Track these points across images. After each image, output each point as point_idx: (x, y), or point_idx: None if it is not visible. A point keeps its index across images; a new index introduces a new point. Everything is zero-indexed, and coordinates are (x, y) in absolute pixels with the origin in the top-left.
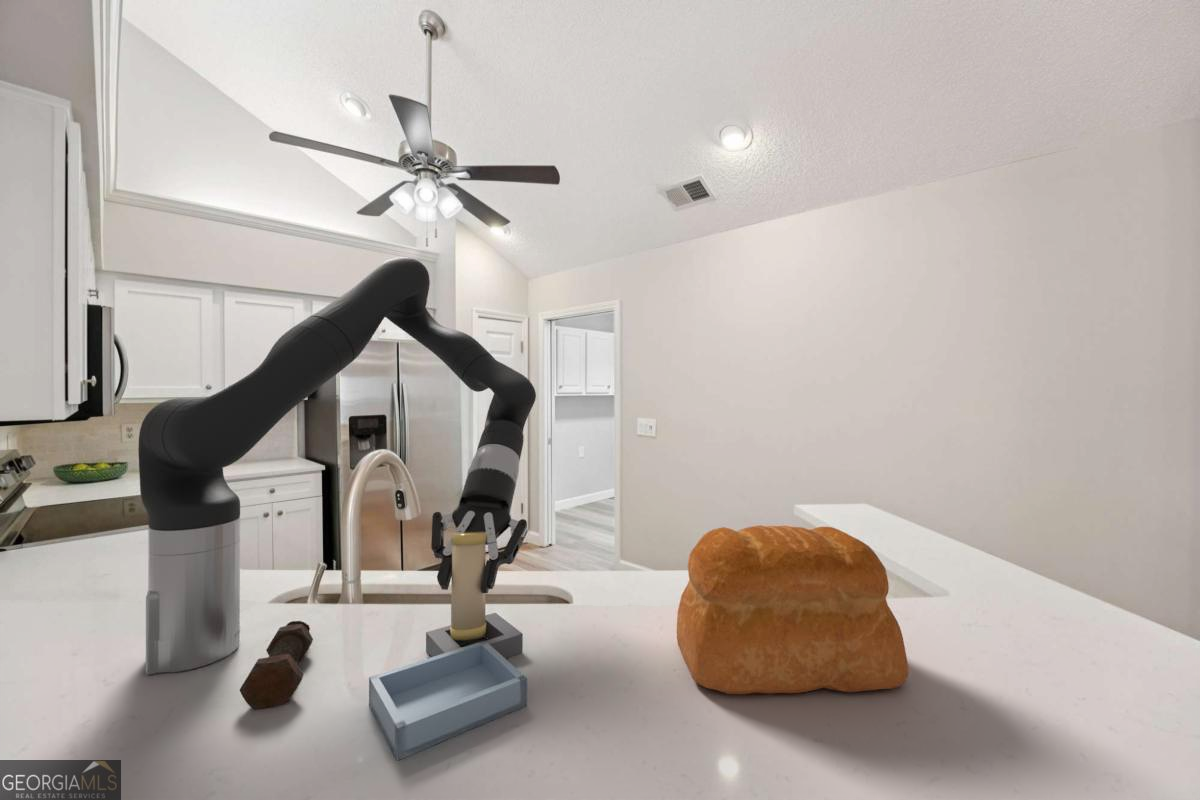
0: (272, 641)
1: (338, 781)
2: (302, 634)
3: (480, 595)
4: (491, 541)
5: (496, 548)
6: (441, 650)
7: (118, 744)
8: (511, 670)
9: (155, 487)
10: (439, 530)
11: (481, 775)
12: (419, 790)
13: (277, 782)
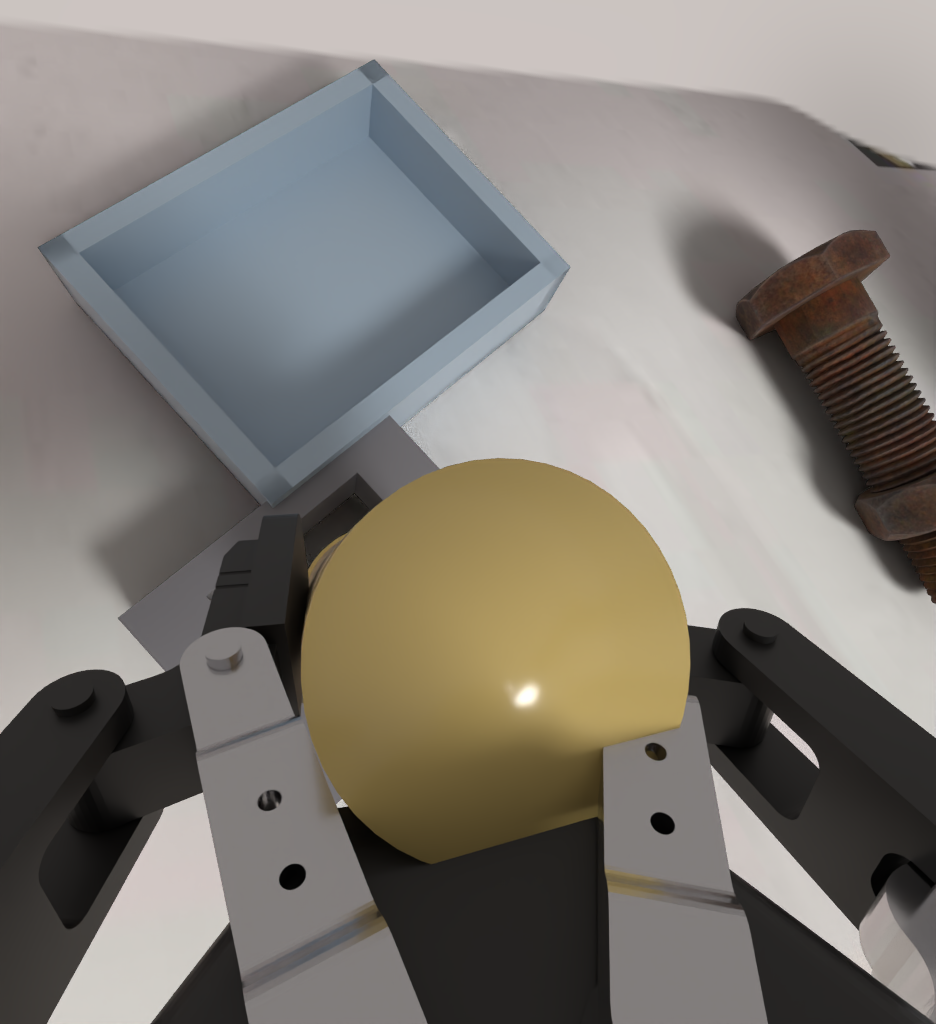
0: None
1: (460, 85)
2: (920, 481)
3: (316, 569)
4: (251, 733)
5: (197, 710)
6: (431, 463)
7: (922, 202)
8: (108, 296)
9: None
10: (873, 757)
11: (155, 72)
12: (283, 49)
13: (572, 93)
